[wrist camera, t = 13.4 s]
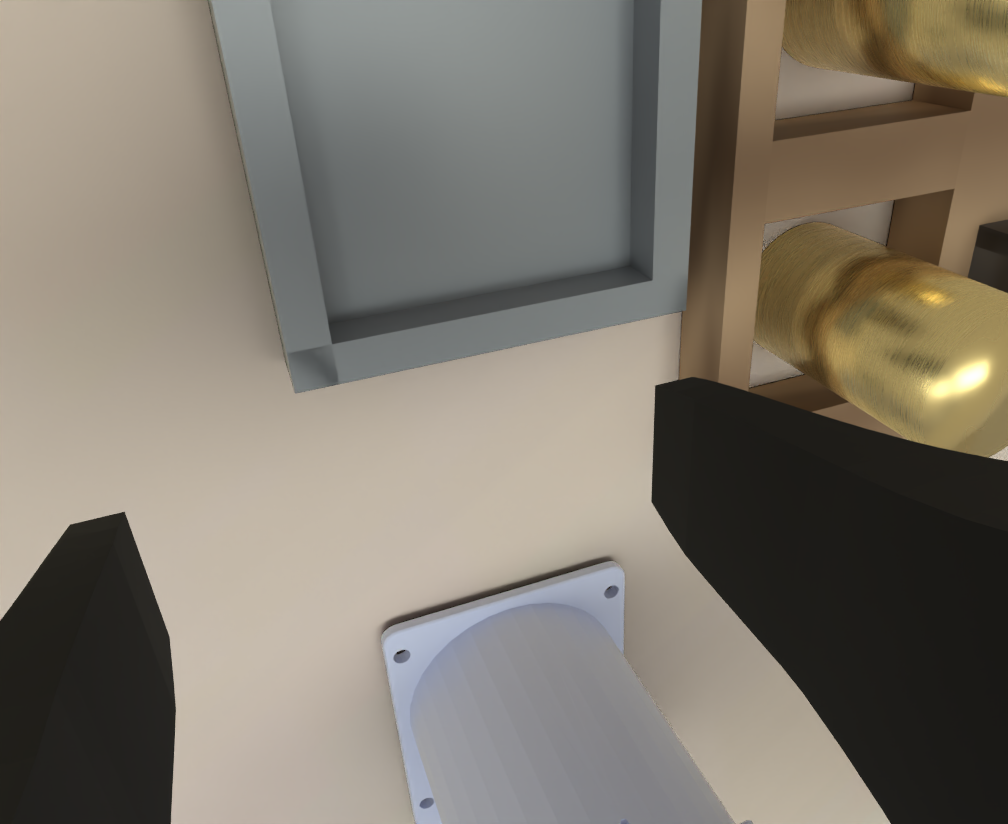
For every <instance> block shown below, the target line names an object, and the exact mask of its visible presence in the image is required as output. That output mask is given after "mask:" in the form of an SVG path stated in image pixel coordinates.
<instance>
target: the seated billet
mask: <svg viewBox="0 0 1008 824" xmlns="http://www.w3.org/2000/svg"><path fill="white" fill-rule="evenodd" d="M753 340H754V341H755V342H756V343H758V344H759V345H760V346H762V347H763V348H765V349H767V350H768V351H770V352H771V353H773V354H774V355H776V356H778V357H779V358H781V359H782V360H784V361H785V362H787V363H789V364H790V365H792V366H793V367H795V368H796V369H798V370H800V371H801V372H803V373H804V374H806V375H807V376H809V377H811V378H812V379H814V380H815V381H817V382H818V383H820V384H822V385H823V386H825V387H826V388H828V389H829V390H831V391H833V392H834V393H836V394H837V395H839V396H840V397H842V398H844V399H845V400H847V401H848V402H850V403H851V404H853V405H855V406H856V407H858V408H859V409H861V410H862V411H864V412H866V413H867V414H869V415H870V416H872V417H873V418H875V419H877V420H878V421H880V422H881V423H883V424H884V425H886V426H888V427H889V428H891V429H892V430H894V431H895V432H897V433H899V434H900V435H902V436H903V437H905V438H906V439H908V440H910V441H914V442H918V443H922V444H926V445H930V446H935V447H939V448H943V449H948V450H953V451H958V452H963V453H968V454H973V455H978V456H983V457H987V458H988V457H990V456H992V455H994V454H996V453H997V452H999V451H1001V450H1002V449H1004V448H1005V447H1006V446H1008V293H1006V292H1003V291H1001V290H998V289H995V288H993V287H990V286H988V285H985V284H983V283H980V282H977V281H975V280H972V279H970V278H967V277H965V276H962V275H959V274H957V273H954V272H952V271H949V270H947V269H944V268H941V267H939V266H936V265H934V264H931V263H928V262H926V261H923V260H921V259H918V258H916V257H913V256H910V255H908V254H905V253H903V252H900V251H898V250H895V249H892V248H890V247H887V246H885V245H882V244H880V243H877V242H874V241H872V240H869V239H867V238H864V237H861V236H859V235H856V234H854V233H851V232H849V231H846V230H843V229H841V228H838V227H836V226H833V225H831V224H827V223H821V222H813V223H806V224H803V225H799V226H797V227H794V228H792V229H790V230H788V231H787V232H785V233H783V234H782V235H781V236H779V237H778V238H777V239H775V240H774V241H773V242H772V243H771V244H770V245H769V246H768V247H767V248H766V249H765V250H764V251H763V253H762V255H761V266H760V276H759V286H758V297H757V307H756V317H755V328H754V338H753Z"/></svg>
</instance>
